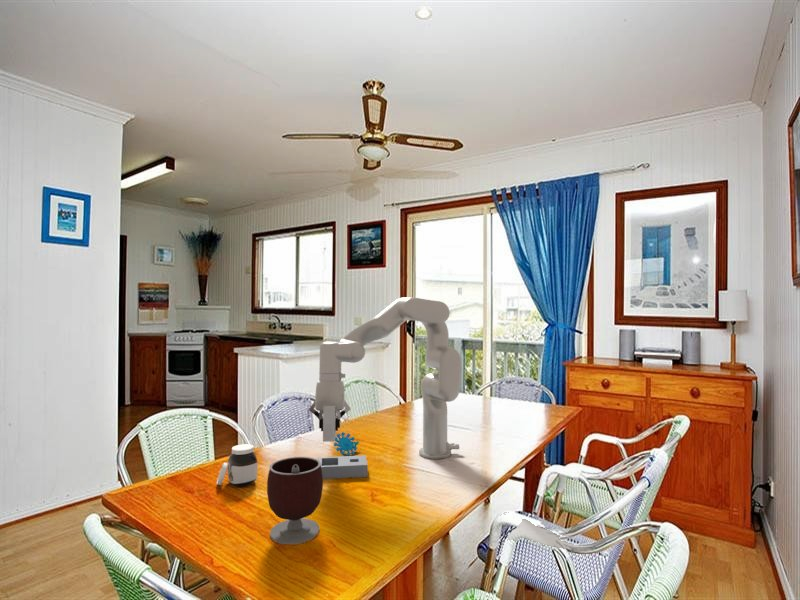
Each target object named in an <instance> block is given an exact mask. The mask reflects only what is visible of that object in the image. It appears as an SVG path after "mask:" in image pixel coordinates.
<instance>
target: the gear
mask: <svg viewBox="0 0 800 600" xmlns="http://www.w3.org/2000/svg"><path fill="white" fill-rule="evenodd" d="M345 435H346V436H345ZM350 437H351V438H350ZM355 440H356V439H355V437H354V436H351V433H347V434H346V432H341V433H336V438H335V441H334V443H333V446H334V447H336V449H335V451H336V452H340V455H341V456H351V455H355V453H356V451H357V450H358V447H357V446H358V445H359V444H360V441H359V440H357V441H355ZM341 451H342V452H341ZM350 451H351V452H350ZM345 453H346V454H345Z"/></svg>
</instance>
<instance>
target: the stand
mask: <svg viewBox="0 0 800 600" xmlns="http://www.w3.org/2000/svg"><path fill="white" fill-rule="evenodd" d="M317 460H319V461H320V463H321V469H322V475H323V480H328V479H329V480H331V478H332V479H347V478H348V479H349V477H352V478H366V477H367V476H368V474H369V473H368V472H369V471H368V466H369V465H368V460H367V456H366V454H365V455H349V456H347V455H341V456H322V457H321V456H320V457H319V456H318V457H317ZM367 478H368V477H367Z"/></svg>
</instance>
